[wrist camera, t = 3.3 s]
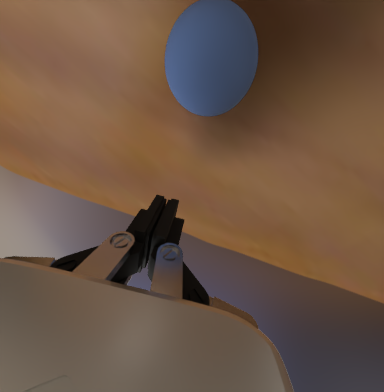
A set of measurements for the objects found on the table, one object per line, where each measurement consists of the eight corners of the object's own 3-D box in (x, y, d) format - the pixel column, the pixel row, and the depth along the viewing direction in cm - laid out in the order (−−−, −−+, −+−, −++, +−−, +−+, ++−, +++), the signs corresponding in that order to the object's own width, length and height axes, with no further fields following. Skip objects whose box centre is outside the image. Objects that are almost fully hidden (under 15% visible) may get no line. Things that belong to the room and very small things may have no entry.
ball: (262, 35, 12) (296, -16, 7) (233, 121, 15) (242, 130, 10) (183, 14, 12) (159, -52, 7) (170, 105, 15) (146, 105, 10)
